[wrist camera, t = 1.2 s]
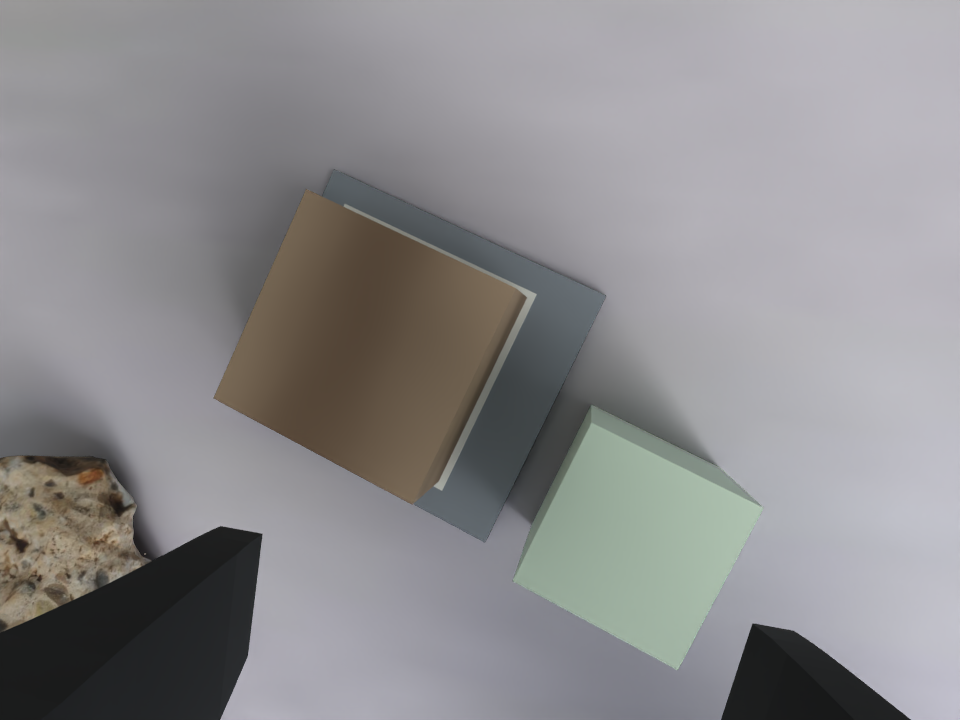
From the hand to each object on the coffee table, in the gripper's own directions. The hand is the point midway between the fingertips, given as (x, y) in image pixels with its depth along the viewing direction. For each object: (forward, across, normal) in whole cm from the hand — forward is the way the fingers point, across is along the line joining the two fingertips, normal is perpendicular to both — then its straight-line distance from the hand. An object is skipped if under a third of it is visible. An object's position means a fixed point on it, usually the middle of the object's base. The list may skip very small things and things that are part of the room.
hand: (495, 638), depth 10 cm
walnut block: (+11, +3, -1) cm, 12 cm away
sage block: (+10, -4, +2) cm, 11 cm away
